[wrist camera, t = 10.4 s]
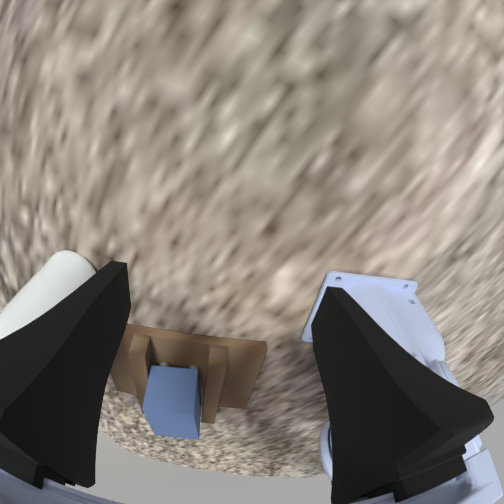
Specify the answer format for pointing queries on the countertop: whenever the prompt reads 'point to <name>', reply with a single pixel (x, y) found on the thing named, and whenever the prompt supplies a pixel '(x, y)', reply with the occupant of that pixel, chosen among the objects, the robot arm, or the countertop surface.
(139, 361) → the shelf frame
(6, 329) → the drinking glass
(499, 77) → the countertop surface
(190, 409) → the shelf block
